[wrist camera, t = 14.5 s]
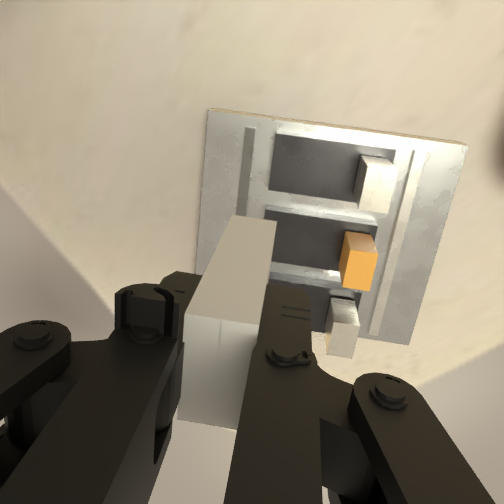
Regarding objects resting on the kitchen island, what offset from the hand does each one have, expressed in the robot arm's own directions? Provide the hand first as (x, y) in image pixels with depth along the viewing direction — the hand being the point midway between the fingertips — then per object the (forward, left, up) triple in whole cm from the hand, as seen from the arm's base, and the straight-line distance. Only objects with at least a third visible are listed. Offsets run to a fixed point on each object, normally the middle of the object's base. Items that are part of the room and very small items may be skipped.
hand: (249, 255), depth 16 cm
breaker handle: (+7, -7, -21) cm, 23 cm away
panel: (+4, -7, -24) cm, 26 cm away
